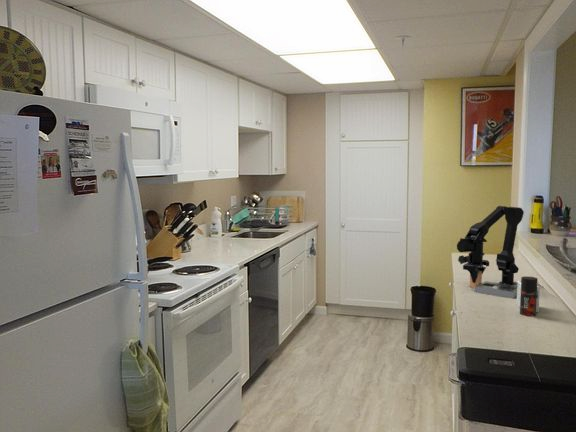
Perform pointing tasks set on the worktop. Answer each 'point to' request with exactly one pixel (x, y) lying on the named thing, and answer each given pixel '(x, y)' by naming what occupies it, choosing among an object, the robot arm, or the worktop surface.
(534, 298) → the deodorant
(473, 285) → the orange rectangular block
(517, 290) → the light bulb box
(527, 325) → the worktop surface
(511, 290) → the socket plate
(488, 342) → the worktop surface
